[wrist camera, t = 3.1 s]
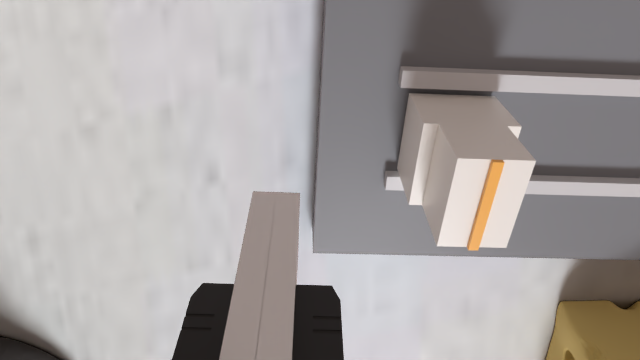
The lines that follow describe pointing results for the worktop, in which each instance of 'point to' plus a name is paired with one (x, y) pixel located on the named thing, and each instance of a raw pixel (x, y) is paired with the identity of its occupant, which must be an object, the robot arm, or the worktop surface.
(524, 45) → the console
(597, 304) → the cheese
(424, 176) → the fader
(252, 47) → the worktop surface
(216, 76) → the worktop surface
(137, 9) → the worktop surface
